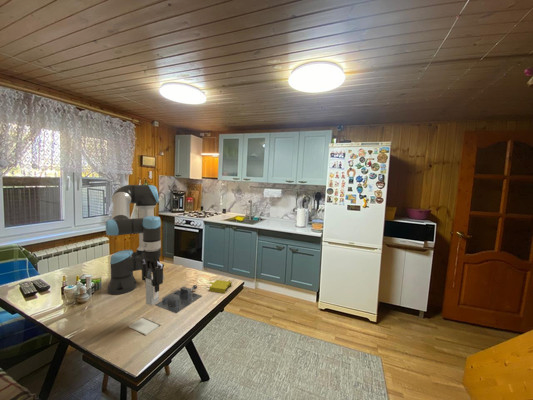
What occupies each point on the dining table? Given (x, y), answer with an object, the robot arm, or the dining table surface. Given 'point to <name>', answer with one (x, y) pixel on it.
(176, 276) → the dining table surface
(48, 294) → the dining table surface
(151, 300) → the gray rectangular block
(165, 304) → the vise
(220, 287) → the bracket
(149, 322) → the mat
